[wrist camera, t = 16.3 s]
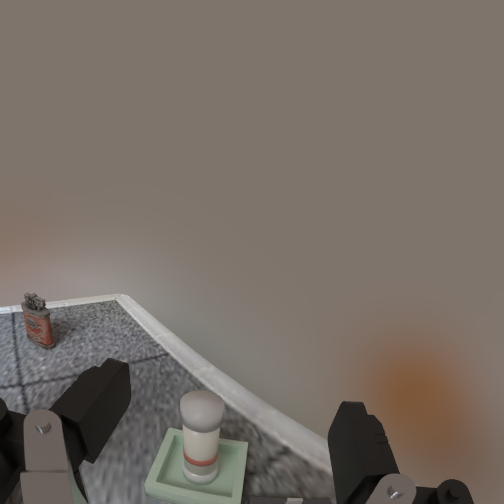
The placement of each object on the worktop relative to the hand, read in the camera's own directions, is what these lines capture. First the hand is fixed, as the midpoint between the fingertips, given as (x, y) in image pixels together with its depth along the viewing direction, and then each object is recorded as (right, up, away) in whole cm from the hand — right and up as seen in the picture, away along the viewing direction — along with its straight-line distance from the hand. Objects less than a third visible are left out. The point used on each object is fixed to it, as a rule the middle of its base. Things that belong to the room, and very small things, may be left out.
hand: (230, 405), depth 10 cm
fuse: (-5, -20, +17) cm, 26 cm away
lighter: (-41, -12, +35) cm, 55 cm away
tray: (-5, -21, +17) cm, 27 cm away
